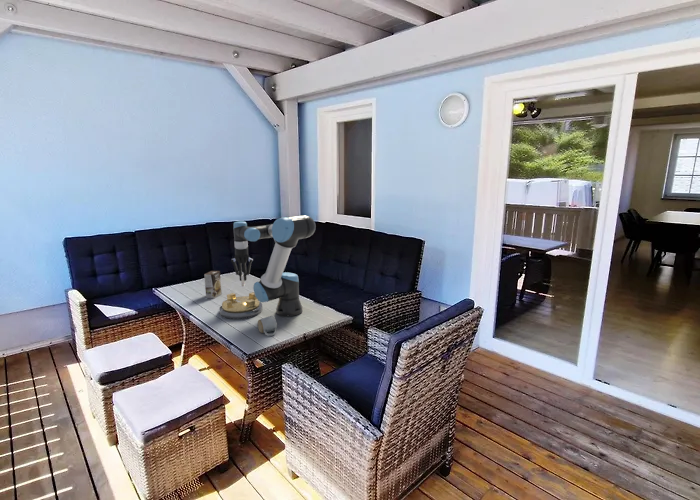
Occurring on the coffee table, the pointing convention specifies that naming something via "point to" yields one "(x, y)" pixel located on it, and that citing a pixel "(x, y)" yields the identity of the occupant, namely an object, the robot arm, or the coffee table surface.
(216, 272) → the printed cardboard box
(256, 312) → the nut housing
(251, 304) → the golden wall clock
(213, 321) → the coffee table surface
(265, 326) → the ceramic mug
